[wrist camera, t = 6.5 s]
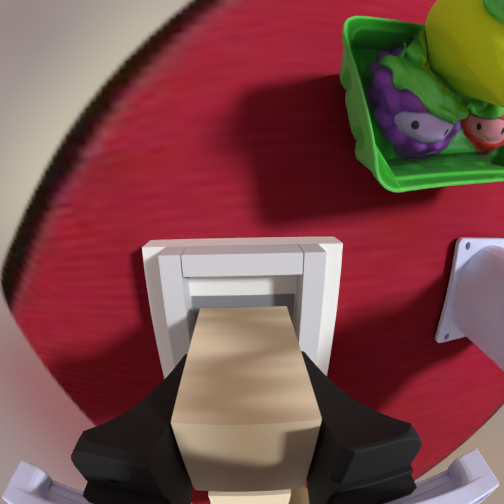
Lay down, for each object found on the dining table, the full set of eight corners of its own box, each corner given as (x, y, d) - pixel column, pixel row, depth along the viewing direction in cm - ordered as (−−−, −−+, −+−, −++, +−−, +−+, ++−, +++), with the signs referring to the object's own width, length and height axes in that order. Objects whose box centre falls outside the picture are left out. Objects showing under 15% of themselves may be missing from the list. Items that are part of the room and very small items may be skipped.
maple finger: (286, 305, 13) (321, 418, 7) (282, 384, 15) (302, 492, 8) (200, 308, 13) (170, 422, 6) (209, 385, 15) (196, 495, 8)
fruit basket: (337, 187, 15) (504, 234, 4) (306, 37, 12) (388, -101, 2) (479, 172, 15) (611, 198, 4) (455, 52, 12) (571, 15, 1)
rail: (333, 236, 15) (417, 303, 7) (309, 431, 20) (329, 516, 12) (150, 240, 15) (70, 310, 7) (185, 434, 20) (172, 521, 11)
